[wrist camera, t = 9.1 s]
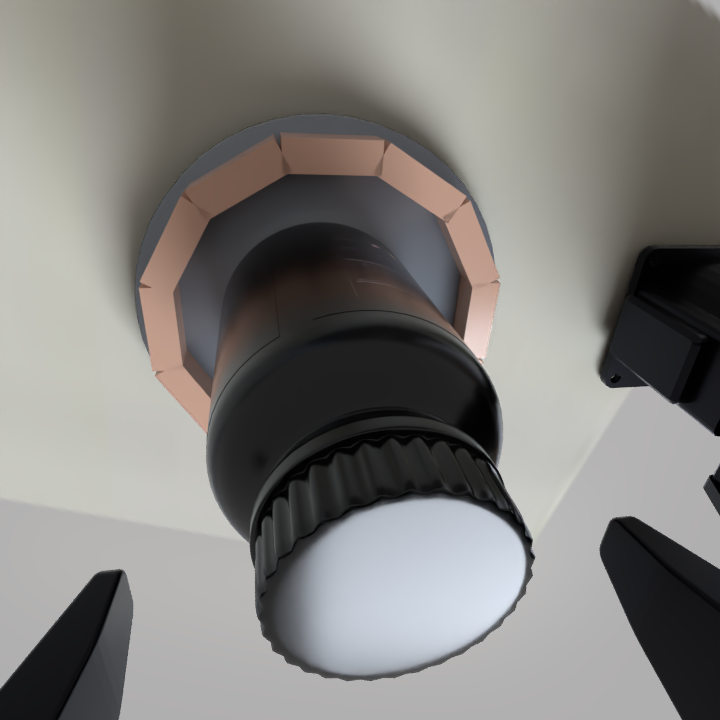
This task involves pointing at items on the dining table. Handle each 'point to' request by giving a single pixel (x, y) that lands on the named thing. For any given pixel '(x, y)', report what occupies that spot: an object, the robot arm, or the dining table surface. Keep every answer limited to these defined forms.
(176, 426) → the dining table surface
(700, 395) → the robot arm
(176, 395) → the bottle holder
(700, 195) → the dining table surface
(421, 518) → the supplement bottle
